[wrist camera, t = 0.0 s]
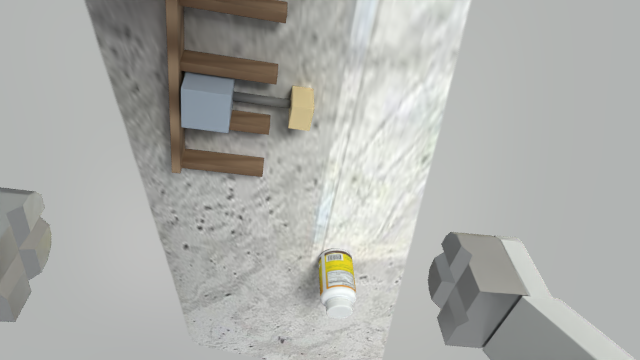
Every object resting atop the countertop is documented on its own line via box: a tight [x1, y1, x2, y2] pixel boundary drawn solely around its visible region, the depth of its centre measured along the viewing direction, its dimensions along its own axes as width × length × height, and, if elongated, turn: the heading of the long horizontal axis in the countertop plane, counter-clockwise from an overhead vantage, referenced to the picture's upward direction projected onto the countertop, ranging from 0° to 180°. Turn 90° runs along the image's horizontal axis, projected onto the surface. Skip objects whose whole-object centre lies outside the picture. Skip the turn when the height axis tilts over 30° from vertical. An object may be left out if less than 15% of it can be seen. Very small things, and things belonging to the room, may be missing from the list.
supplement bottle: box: [319, 248, 356, 319], centre depth 72 cm, size 6×6×10 cm
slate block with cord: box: [181, 71, 314, 133], centre depth 51 cm, size 5×14×5 cm, turn 79°
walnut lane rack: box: [165, 0, 287, 177], centre depth 51 cm, size 22×11×4 cm, turn 169°
